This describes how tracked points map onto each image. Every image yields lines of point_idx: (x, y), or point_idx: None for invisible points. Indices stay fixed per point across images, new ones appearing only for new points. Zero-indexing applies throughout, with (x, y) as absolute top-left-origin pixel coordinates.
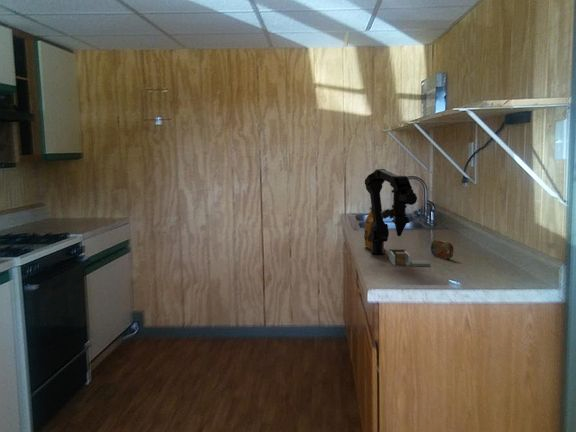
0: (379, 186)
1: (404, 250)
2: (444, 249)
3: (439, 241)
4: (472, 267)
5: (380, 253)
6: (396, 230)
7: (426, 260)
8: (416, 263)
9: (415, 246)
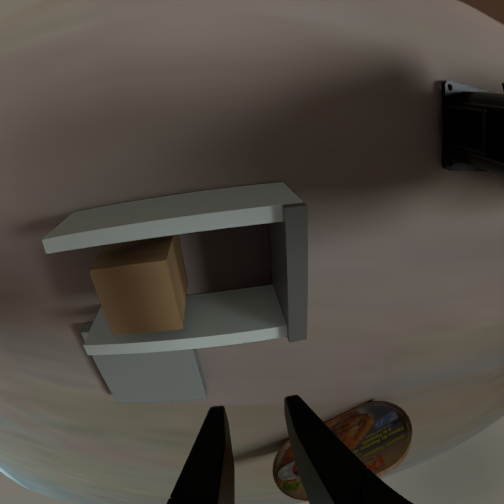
0: None
1: (286, 330)
2: None
3: None
4: (158, 475)
5: (443, 139)
6: (308, 455)
7: (195, 398)
8: None
9: None
